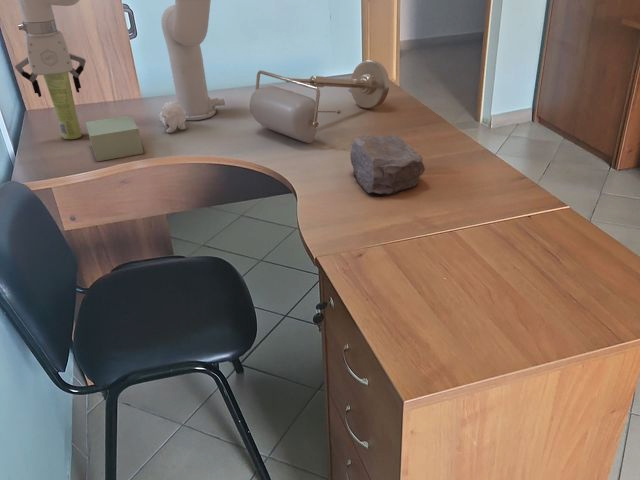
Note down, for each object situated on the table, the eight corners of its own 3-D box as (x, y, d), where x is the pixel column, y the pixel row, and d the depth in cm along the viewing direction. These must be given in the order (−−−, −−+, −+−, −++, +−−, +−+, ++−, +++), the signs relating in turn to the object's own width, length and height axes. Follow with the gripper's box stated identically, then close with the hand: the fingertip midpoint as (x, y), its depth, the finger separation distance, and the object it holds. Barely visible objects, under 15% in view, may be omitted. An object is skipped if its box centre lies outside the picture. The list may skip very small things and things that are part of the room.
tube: (81, 132, 173) (61, 64, 162) (86, 136, 170) (67, 67, 159) (61, 136, 170) (40, 67, 159) (66, 141, 167) (45, 71, 156)
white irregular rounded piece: (163, 105, 165) (149, 99, 174) (170, 135, 169) (156, 127, 178) (184, 101, 168) (169, 95, 177) (190, 130, 172) (176, 123, 181)
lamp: (335, 123, 200) (237, 125, 171) (345, 54, 191) (244, 42, 162) (395, 143, 185) (299, 149, 156) (409, 68, 176) (310, 59, 147)
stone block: (436, 155, 135) (379, 151, 129) (425, 202, 140) (369, 201, 134) (403, 134, 148) (349, 130, 142) (393, 177, 153) (341, 175, 147)
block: (136, 138, 168) (131, 114, 164) (143, 153, 159) (138, 128, 155) (92, 146, 164) (85, 121, 160) (96, 161, 155) (89, 136, 151)
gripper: (3, 33, 147) (24, 101, 157) (78, 27, 154) (93, 93, 163) (3, 27, 153) (24, 93, 162) (75, 22, 159) (91, 86, 169)
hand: (59, 93), depth 163 cm, fingers open, 9 cm apart
